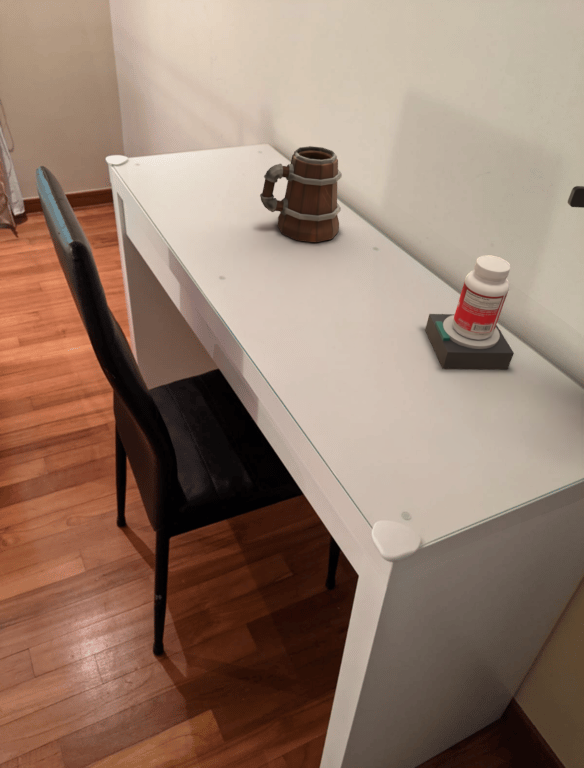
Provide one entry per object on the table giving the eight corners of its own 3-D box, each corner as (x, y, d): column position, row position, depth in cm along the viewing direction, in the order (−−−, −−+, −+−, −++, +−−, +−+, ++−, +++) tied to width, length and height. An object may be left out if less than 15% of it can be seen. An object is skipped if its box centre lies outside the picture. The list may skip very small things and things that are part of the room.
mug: (326, 215, 127) (336, 142, 117) (344, 242, 118) (356, 165, 108) (252, 217, 123) (256, 141, 114) (265, 245, 114) (269, 165, 105)
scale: (485, 330, 98) (491, 311, 95) (507, 369, 90) (515, 349, 88) (425, 329, 97) (430, 310, 94) (442, 368, 89) (448, 348, 87)
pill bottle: (467, 313, 94) (488, 248, 87) (501, 332, 91) (525, 266, 84) (443, 326, 91) (462, 259, 84) (476, 346, 88) (499, 278, 81)
